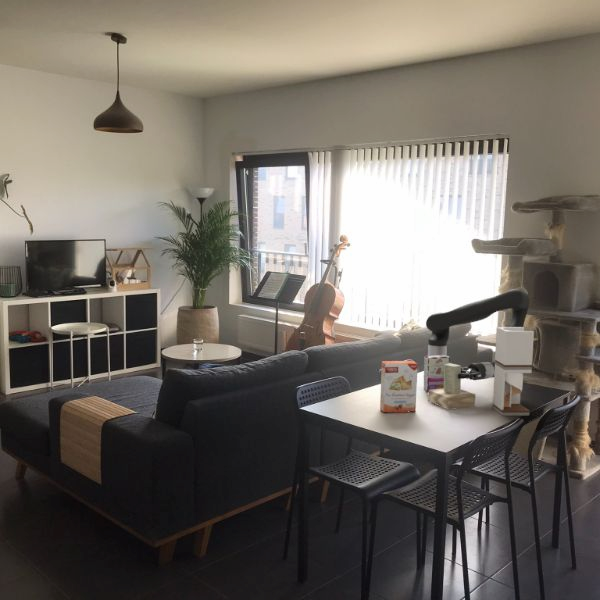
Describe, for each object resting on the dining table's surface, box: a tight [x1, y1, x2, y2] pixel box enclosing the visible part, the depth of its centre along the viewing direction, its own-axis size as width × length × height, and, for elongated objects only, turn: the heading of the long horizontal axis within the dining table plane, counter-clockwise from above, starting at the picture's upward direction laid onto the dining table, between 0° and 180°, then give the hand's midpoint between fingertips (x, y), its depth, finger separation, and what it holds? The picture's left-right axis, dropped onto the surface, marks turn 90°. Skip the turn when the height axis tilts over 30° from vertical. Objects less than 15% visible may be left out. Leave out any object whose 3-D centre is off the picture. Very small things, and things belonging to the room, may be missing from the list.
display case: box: [492, 326, 535, 417], centre depth 265 cm, size 11×11×35 cm
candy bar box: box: [423, 355, 451, 393], centre depth 300 cm, size 11×5×16 cm, turn 104°
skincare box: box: [444, 362, 462, 394], centre depth 278 cm, size 6×4×12 cm
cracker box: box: [379, 360, 419, 413], centre depth 265 cm, size 14×6×21 cm, turn 99°
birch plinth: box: [428, 388, 476, 410], centre depth 278 cm, size 14×14×5 cm
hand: (452, 374), depth 277 cm, fingers open, 8 cm apart
